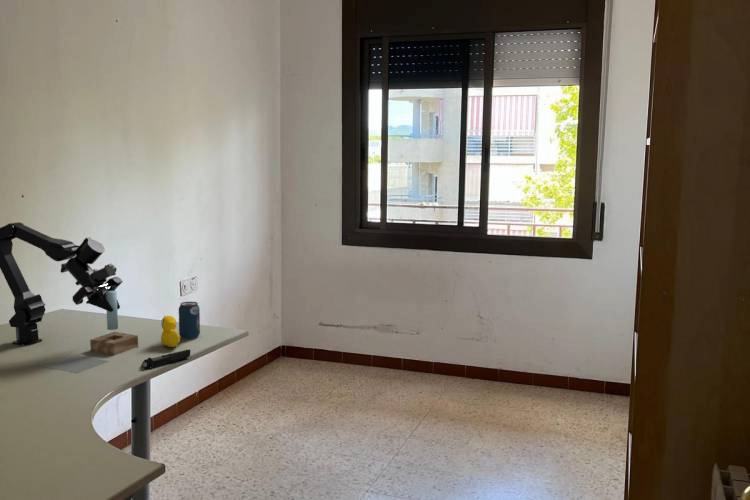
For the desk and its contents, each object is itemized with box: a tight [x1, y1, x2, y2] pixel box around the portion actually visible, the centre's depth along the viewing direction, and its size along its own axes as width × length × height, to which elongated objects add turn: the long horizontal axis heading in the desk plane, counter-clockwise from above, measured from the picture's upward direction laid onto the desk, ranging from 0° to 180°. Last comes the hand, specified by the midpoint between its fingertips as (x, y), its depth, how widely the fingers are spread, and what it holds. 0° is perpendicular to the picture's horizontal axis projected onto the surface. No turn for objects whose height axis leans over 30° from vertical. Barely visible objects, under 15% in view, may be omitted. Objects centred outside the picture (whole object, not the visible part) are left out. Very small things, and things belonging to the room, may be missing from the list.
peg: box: [106, 290, 119, 331], centre depth 200 cm, size 3×3×12 cm
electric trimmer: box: [140, 349, 191, 370], centre depth 191 cm, size 4×16×3 cm, turn 138°
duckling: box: [160, 315, 181, 348], centre depth 208 cm, size 11×5×10 cm, turn 33°
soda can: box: [178, 301, 201, 340], centre depth 218 cm, size 7×7×12 cm
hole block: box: [89, 331, 139, 356], centre depth 203 cm, size 10×10×4 cm
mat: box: [42, 354, 110, 374], centre depth 188 cm, size 14×12×1 cm
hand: (115, 309), depth 200 cm, fingers closed on peg, 3 cm apart
